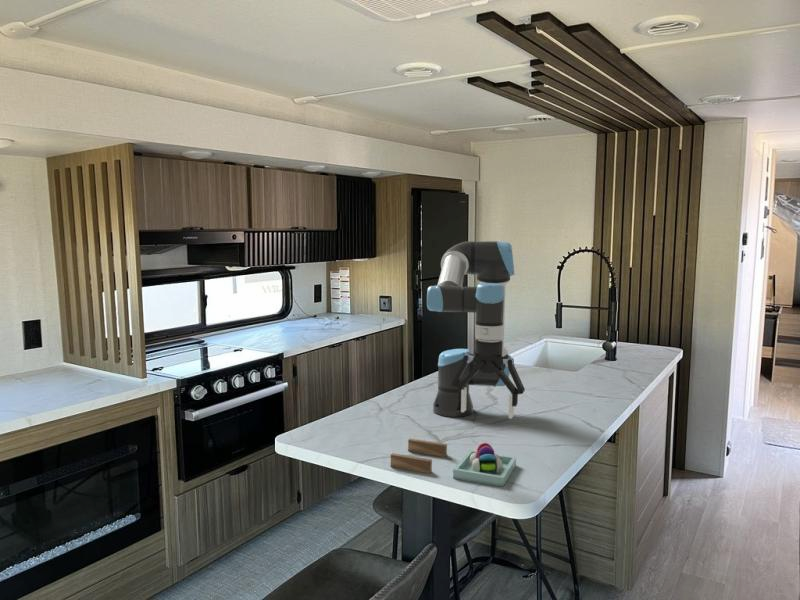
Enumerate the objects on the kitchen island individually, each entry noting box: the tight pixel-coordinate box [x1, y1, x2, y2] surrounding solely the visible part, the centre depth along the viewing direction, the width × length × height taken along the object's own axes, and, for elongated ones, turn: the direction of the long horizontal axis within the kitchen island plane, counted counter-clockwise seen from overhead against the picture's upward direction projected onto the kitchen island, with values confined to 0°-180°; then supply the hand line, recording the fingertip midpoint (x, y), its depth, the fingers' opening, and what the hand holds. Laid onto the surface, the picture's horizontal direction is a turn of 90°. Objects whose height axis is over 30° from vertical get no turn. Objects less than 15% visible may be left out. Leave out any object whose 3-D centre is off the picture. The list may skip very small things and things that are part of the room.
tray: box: [452, 449, 517, 488], centre depth 171 cm, size 16×14×2 cm
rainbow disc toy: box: [470, 442, 503, 473], centre depth 171 cm, size 8×10×7 cm
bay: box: [390, 438, 448, 474], centre depth 179 cm, size 15×12×4 cm
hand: (486, 414), depth 169 cm, fingers open, 13 cm apart
